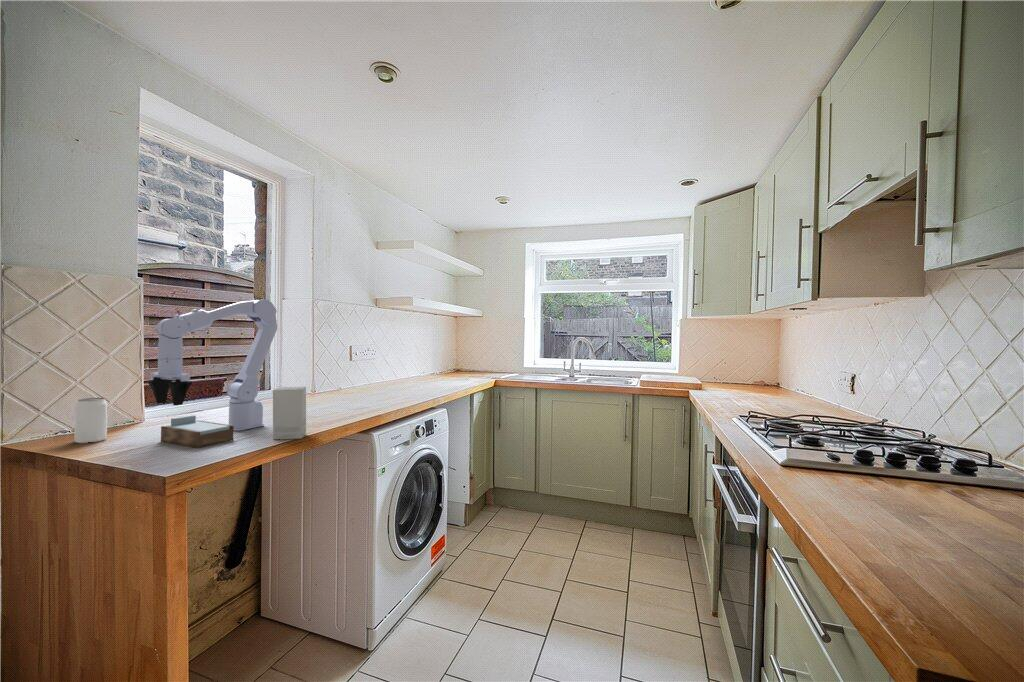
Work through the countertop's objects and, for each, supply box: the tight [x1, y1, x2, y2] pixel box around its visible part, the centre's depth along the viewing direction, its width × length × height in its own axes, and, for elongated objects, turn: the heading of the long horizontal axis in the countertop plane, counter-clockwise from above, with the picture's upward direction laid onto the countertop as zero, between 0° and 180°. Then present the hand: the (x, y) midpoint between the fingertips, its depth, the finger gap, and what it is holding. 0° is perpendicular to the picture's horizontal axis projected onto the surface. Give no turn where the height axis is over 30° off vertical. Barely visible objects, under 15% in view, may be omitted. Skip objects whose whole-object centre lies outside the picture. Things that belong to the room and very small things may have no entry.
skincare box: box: [272, 386, 307, 440], centre depth 128 cm, size 8×7×16 cm
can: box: [73, 397, 108, 444], centre depth 117 cm, size 6×6×12 cm
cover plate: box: [165, 415, 230, 435], centre depth 121 cm, size 15×8×3 cm, turn 70°
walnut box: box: [160, 419, 235, 449], centre depth 121 cm, size 16×10×4 cm, turn 70°
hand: (169, 403), depth 123 cm, fingers open, 7 cm apart
